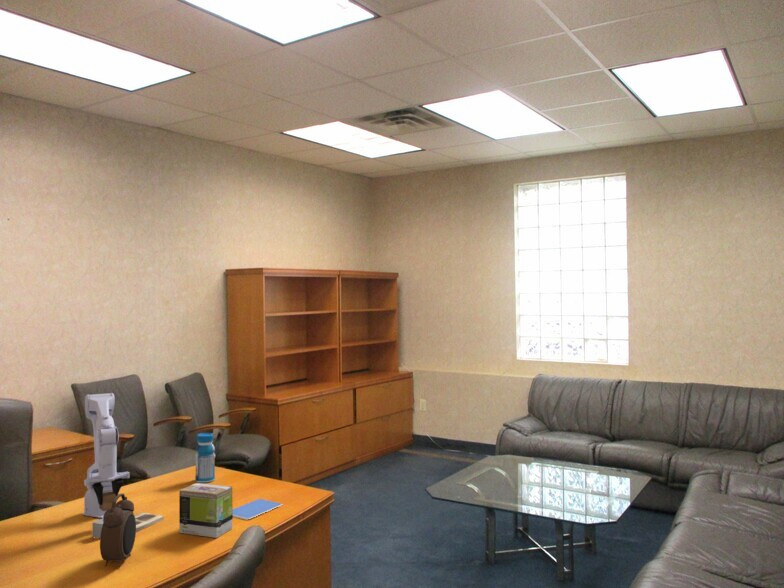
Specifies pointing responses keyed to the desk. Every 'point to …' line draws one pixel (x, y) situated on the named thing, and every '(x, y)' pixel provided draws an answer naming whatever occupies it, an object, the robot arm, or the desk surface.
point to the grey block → (97, 528)
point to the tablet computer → (254, 509)
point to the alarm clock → (118, 531)
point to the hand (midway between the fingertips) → (107, 502)
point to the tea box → (205, 510)
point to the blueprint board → (146, 520)
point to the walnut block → (107, 500)
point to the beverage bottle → (205, 458)
